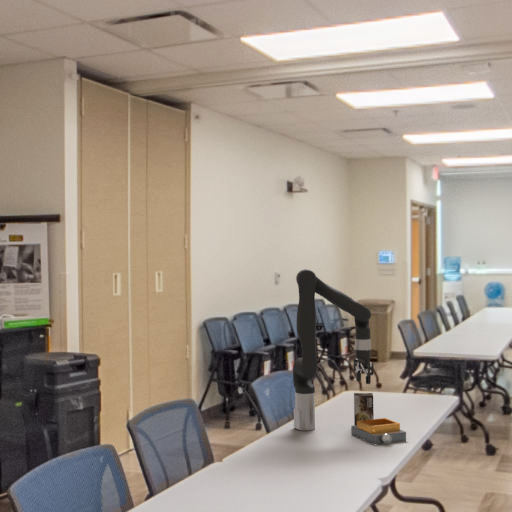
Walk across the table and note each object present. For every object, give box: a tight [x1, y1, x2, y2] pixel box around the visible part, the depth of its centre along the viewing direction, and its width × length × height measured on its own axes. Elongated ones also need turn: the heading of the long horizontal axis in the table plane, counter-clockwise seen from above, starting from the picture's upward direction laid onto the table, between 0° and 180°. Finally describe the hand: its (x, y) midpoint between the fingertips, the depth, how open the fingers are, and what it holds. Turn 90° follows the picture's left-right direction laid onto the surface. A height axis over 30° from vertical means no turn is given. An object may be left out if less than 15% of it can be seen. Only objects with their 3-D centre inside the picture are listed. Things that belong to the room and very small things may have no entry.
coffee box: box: [353, 392, 375, 426], centre depth 351 cm, size 9×6×16 cm
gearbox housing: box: [350, 417, 407, 445], centre depth 331 cm, size 16×22×7 cm
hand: (363, 382), depth 351 cm, fingers open, 8 cm apart
